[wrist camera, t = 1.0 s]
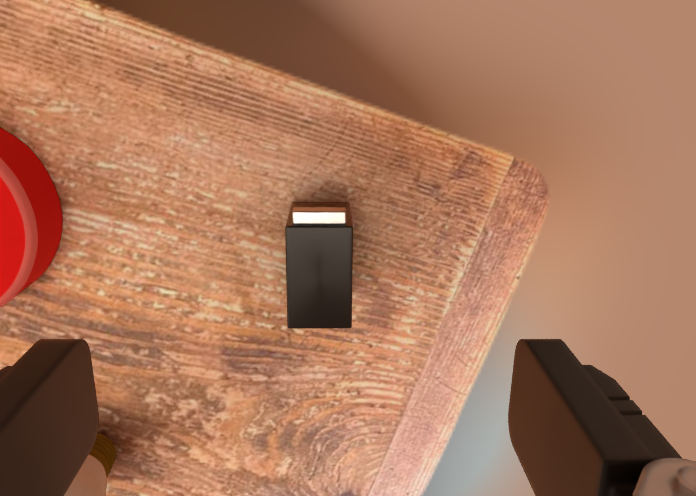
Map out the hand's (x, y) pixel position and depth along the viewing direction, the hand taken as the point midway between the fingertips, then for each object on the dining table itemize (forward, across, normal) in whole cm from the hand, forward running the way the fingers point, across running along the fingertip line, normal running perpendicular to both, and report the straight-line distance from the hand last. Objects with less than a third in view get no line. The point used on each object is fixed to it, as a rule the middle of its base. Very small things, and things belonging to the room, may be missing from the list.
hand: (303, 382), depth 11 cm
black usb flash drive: (+20, 0, +4) cm, 20 cm away
